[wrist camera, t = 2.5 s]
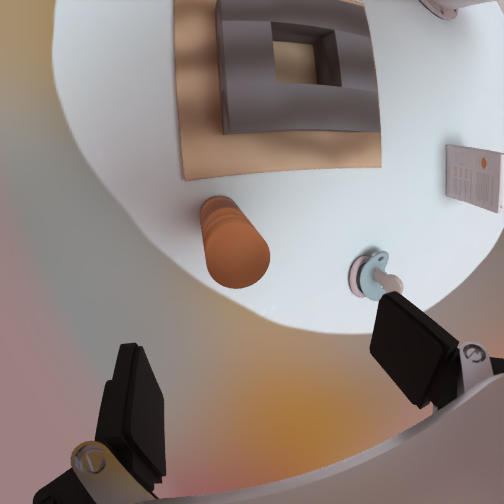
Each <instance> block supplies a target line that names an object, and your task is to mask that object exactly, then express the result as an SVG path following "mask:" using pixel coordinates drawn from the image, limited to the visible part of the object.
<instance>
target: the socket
mask: <svg viewBox="0 0 504 504" xmlns="http://www.w3.org/2000/svg"><path fill="white" fill-rule="evenodd" d="M174 35H175V66H176V85H177V101H178V115H179V127H180V138H181V149H182V159H183V168H184V177H185V181H191V180H198V179H206V178H214V177H222V176H231V175H241V174H251V173H262V172H275V171H289V170H306V169H329V168H381V125H380V109H379V97H378V86H377V77H376V69H375V61H374V55H373V48H372V42H371V36H370V31H369V26H368V21H367V16H366V12H365V7H364V4H363V3H359V2H356V1H352V0H174Z"/></svg>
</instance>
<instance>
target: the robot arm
mask: <svg viewBox="0 0 504 504" xmlns="http://www.w3.org/2000/svg"><path fill="white" fill-rule="evenodd" d="M420 1H421V2H422V3H423V4H424V5H425V6H426V7H427V8H428V9H429V10H430V11H432V12H433V13H434V14H436V15H437V16H439V17H441V18H443V19H447V20H449V19H453V18H455V17H456V16H457V8H462V7H466V6H470V5H475V4H480V3H485V2H491V1H496V0H420ZM458 344H459V341H458V340H456V339H455V338H454V337H453V336H452V335H450V334H449V333H448V332H447V331H445V329H443V328H442V327H441V326H439V325H438V324H437V323H436V322H435V321H434V320H432V319H431V318H430V317H429V316H427V315H426V314H425V313H424V312H422V311H421V310H420V309H419V308H417V307H416V306H415V305H414V304H412V303H411V302H410V301H409V300H407V299H406V298H405V297H403V296H402V295H401V294H400V293H398V292H397V291H392V292H389V293H385V294H383V295H382V297H381V299H380V300H379V303H378V309H377V315H376V320H375V325H374V330H373V335H372V339H371V344H370V353H371V354H372V356H373V357H374V358H375V359H376V361H377V362H378V363H379V364H380V365H381V367H382V368H383V369H384V370H385V371H386V373H387V374H388V375H389V376H390V377H391V379H392V380H393V381H394V382H395V383H396V385H397V386H398V387H399V388H400V389H401V391H402V392H403V393H404V394H405V395H406V397H407V398H408V399H409V400H410V402H412V404H414V405H417V407H418V408H419V409H422V408H423V407H425V406H426V405H428V404H429V403H430V401H431V402H432V403H433V414H432V415H431V416H429V417H428V418H426V419H424V420H423V421H421V422H419V423H418V424H416V425H414V426H413V427H411V428H409V429H407V430H406V431H404V432H402V433H400V434H398V435H396V436H394V437H393V438H391V439H389V440H387V441H385V442H383V443H381V444H379V445H377V446H375V447H372V448H371V449H368V450H366V451H364V452H361V453H359V454H357V455H354V456H352V457H350V458H347V459H345V460H342V461H340V462H337V463H334V464H332V465H329V466H326V467H323V468H320V469H317V470H315V471H311V472H309V473H305V474H302V475H299V476H296V477H292V478H288V479H285V480H281V481H277V482H273V483H269V484H265V485H260V486H255V487H250V488H244V489H239V490H233V491H227V492H221V493H213V494H205V495H196V496H185V497H176V498H163V499H159V498H158V497H157V496H156V495H155V494H154V493H153V492H152V491H153V490H154V483H162V476H166V460H165V436H164V398H163V394H162V392H161V390H160V387H159V385H158V383H157V381H156V378H155V376H154V374H153V371H152V369H151V366H150V364H149V361H148V359H147V357H146V354H145V351H144V349H143V347H142V346H138V345H137V344H136V343H127V344H121V345H120V348H119V352H118V356H117V360H116V365H115V369H114V374H113V378H112V380H108V381H107V382H106V384H105V388H104V392H103V397H102V402H101V407H100V412H99V417H98V424H97V429H96V434H95V441H86V442H83V443H81V444H80V445H78V446H77V447H76V448H75V449H74V451H73V452H72V455H71V466H72V468H70V469H69V470H67V471H66V472H65V473H63V474H62V475H61V476H59V477H58V478H56V479H55V480H53V481H52V482H50V483H49V484H47V485H46V486H44V487H43V488H41V489H40V490H39V491H38V492H37V493H36V494H35V496H34V498H33V504H504V359H502V358H493V357H489V354H488V351H487V350H486V349H485V347H483V346H482V345H480V344H478V343H476V342H467V343H464V344H463V345H461V348H460V349H458V348H457V346H458Z"/></svg>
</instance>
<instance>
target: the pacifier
mask: <svg viewBox="0 0 504 504" xmlns="http://www.w3.org/2000/svg"><path fill="white" fill-rule="evenodd" d="M380 257H382V259H381V260H379V261H378V259H379V258H380ZM388 258H389V254H388V253H387V252H385V251H382V252H380V253H378V254H376V255H374V256H373V257H371V258H369V257H368V256H362V257H359V258H358V259H357V260H356V261H355V262H354V264H353V266H352V268H351V271H350V278H349V279H350V286H351V290H352V292H353V293H354V294H355V295H356V296H357V297H361V298H363V297H368V298H369V299H370V300H373V301H379V300H380V299H381V297H382V295H383V294H385V293H389V292H392V291H397V292H398V293H400V294H402V292H403V283H402V281H401V280H400V279H399V278H398V277H397V276H395V275H391V274H390V275H388V274H387V273H386V272H385V270H384V269H385V267H386V265H387V262H388ZM363 263H365V265H364V266H363V268H362V270H361V273H360V286H361V289H362V291H360V290H359V289H358V287H357V284H356V274H357V271H358V269H359V267H360V266H361V264H363ZM380 285H382V286H383V288H381V286H380Z"/></svg>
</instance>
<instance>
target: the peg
mask: <svg viewBox="0 0 504 504" xmlns="http://www.w3.org/2000/svg"><path fill="white" fill-rule="evenodd" d="M200 222H201V230H202V237H203V244H204V251H205V258H206V264H207V269H208V271H209V273H210V275H211V277H212V278H213V279H214V280H215V281H216V282H217V283H219V284H220V285H222V286H224V287H228V288H233V289H239V288H245V287H248V286H250V285H252V284H254V283H256V282H257V281H258V280H260V279H261V278H262V276H263V275H264V274H265V272H266V271H267V269H268V266H269V262H270V251H269V247H268V245H267V243H266V242H265V240H264V239H263V238H262V236H261V235H260V234H259V233H258V231H257V230H256V229H255V227H254V226H253V225H252V224H251V222H250V221H249V220H248V219H247V217H246V216H245V215H244V214H243V212H242V211H241V210H240V209H239V207H238V206H237V205H236V204H235V202H234V201H233V200H232V199H230V198H228V197H226V196H214V197H211V198H209V199H208V200H207V201H206V202H205V203H204V204H203V205H202V207H201V210H200Z"/></svg>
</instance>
